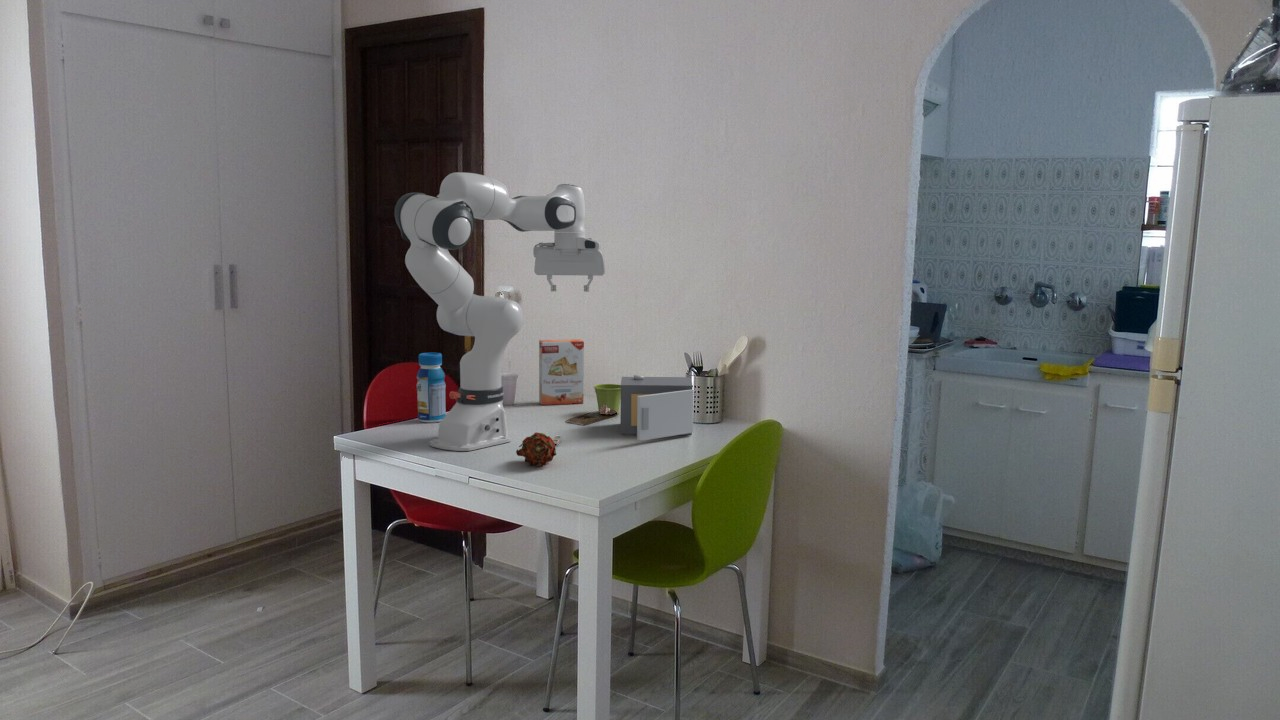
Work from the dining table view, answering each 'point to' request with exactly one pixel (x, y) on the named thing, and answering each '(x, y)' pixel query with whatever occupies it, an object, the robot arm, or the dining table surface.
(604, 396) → the plant pot
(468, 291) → the robot arm
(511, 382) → the smoothie
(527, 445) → the dragon fruit
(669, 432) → the side door
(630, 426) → the gray cabinet
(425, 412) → the beverage bottle
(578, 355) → the cracker box
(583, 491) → the dining table surface
